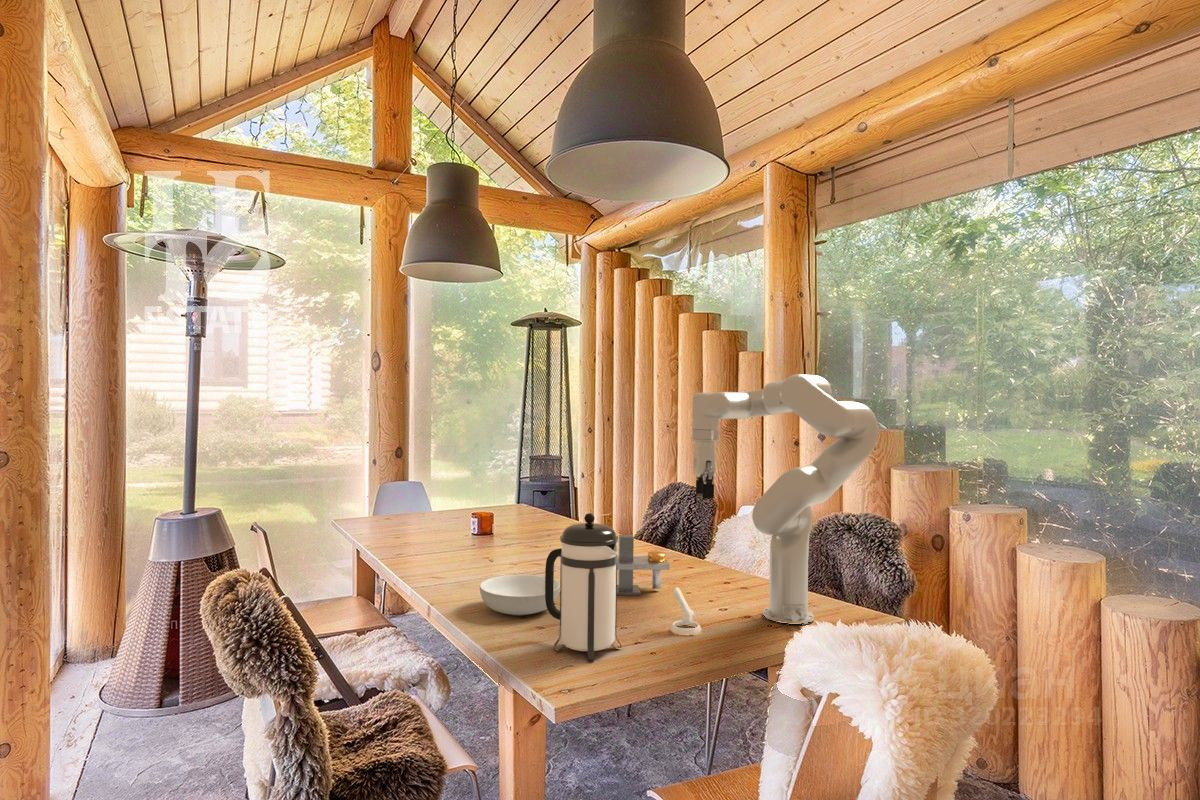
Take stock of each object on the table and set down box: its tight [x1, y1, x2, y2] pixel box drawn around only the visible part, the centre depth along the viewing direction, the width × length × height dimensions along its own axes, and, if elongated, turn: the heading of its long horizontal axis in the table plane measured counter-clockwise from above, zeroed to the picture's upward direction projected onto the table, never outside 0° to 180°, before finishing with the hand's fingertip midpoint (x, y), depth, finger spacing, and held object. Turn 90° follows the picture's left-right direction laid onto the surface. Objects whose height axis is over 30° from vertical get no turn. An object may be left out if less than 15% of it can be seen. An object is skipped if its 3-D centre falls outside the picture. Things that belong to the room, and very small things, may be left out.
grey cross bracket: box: [617, 534, 670, 596], centre depth 196 cm, size 10×16×16 cm, turn 92°
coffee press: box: [544, 512, 623, 662], centre depth 150 cm, size 17×16×30 cm
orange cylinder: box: [647, 550, 667, 590], centre depth 196 cm, size 5×5×10 cm
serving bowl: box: [479, 574, 560, 616], centre depth 177 cm, size 21×21×7 cm
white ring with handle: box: [669, 586, 702, 634], centre depth 164 cm, size 8×12×7 cm
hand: (704, 496), depth 193 cm, fingers open, 9 cm apart
